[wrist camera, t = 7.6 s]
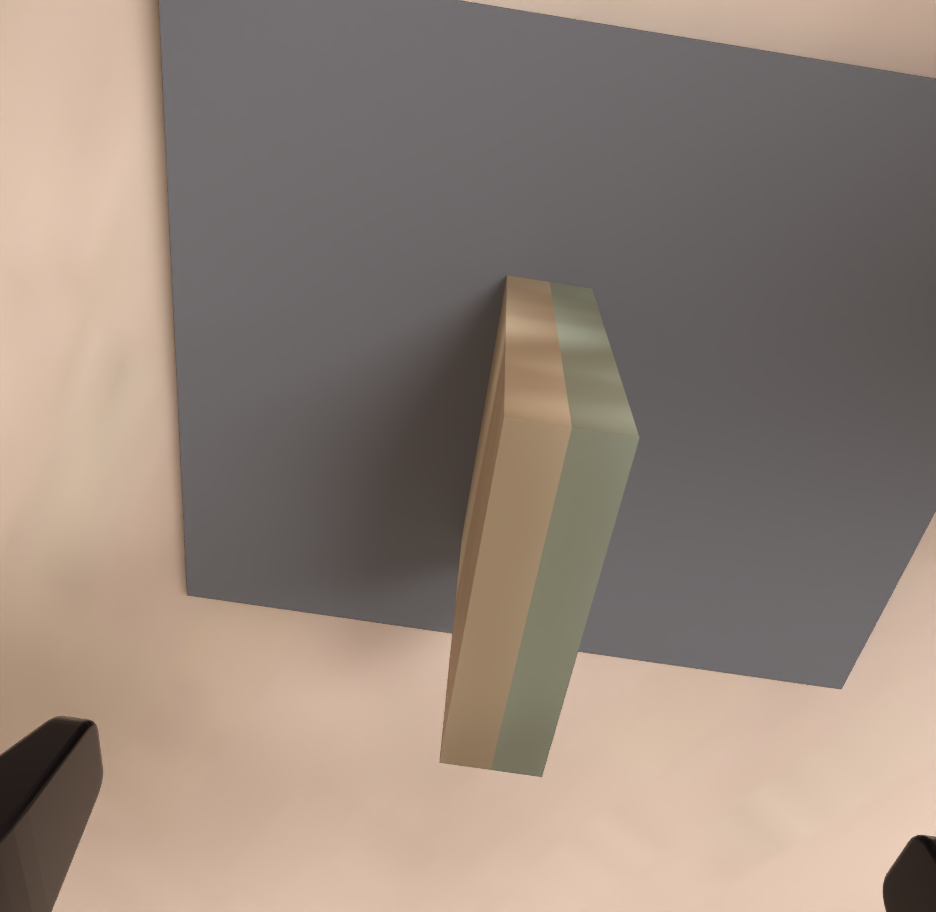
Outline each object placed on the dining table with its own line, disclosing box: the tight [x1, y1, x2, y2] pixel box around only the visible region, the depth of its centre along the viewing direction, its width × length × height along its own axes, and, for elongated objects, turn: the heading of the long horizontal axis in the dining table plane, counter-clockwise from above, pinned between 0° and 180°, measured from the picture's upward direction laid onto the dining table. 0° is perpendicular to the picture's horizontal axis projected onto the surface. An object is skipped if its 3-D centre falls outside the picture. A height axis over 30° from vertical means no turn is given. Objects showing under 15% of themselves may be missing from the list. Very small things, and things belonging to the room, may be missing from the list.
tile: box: [440, 275, 639, 777], centre depth 13 cm, size 2×6×6 cm, turn 171°
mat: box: [159, 0, 936, 689], centre depth 15 cm, size 16×13×1 cm
